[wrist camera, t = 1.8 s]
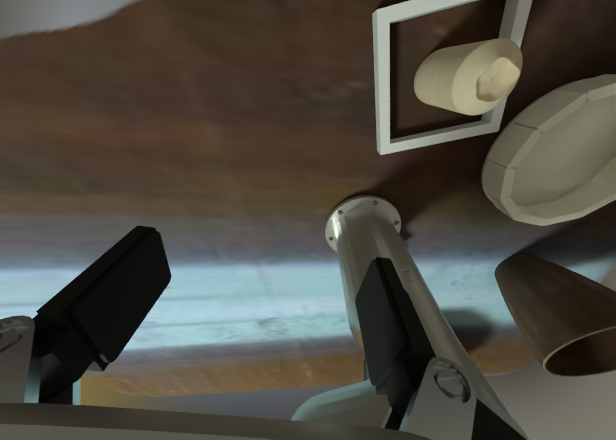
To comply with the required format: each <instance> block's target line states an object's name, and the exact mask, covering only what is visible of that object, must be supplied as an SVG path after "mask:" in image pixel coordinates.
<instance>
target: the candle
mask: <svg viewBox="0 0 616 440" xmlns="http://www.w3.org/2000/svg"><path fill="white" fill-rule="evenodd" d="M522 62H523V59H522V53H521V50H520V48H519V47H518V45H517V44H516V43H515V42H513V41H512V40H509V39H504V38H498V39H492V40H486V41H481V42H475V43H470V44H464V45H458V46H453V47H447V48H443V49H439V50H437V51H435V52H433V53H432V54H430V55H429V56H428V57H427V58H426V59H425V60H424V61H423V62H422V63H421V65H420V66H419V68H418V70H417V72H416V75H415V79H414V91H415V94H416V96H417V97H418V98H419V99H420V100H421V101H422V102H424V103H426V104H429V105H433V106H436V107H440V108H444V109H447V110H451V111H455V112H458V113H462V114H466V115H479V114H483V113H485V112H488V111H490V110H492V109H493V108H495V107H496V106H498V105H499V104H500V103H501V102H502V101H503V100H504V99H505V98H506V97H507V96H508V95H509V94H510V93H511V91H512V90H513V88H514V87H515V85H516V83H517V81H518V79H519V76H520V73H521V70H522Z"/></svg>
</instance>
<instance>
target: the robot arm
mask: <svg viewBox="0 0 616 440" xmlns="http://www.w3.org/2000/svg"><path fill="white" fill-rule="evenodd" d="M400 230H401V218H400V215H399V213H398V211H397V209H396V208H395V206H394V205H393V204H391V203H390V202H389V201H387V200H386V199H384V198H381V197H378V196H373V195H361V196H356V197H352V198H350V199H347V200H345V201H344V202H342V203H340V204H339V205H338V206H336V207H335V208H334V209H333V211H332V212H331V213H330V215H329V216H328V218H327V221H326V224H325V234H326V239H327V241H328V243H329V245H330V246H331V247H332V248H333V250H335V251H336V252H337V253H338V259H339V265H340V272H341V278H342V284H343V291H344V297H345V304H346V310H347V315H348V321H349V326H350V329H351V332H352V334H353V336H354V338H355V340H356V341H357V343H358V344H359V345H360V346H361V347H362V348H363V349H364V351H365V356H366V361H367V367H368V372H369V377H370V379H368V380H366V381H364V382H360V383H356V384H353V385H349V386H346V387H342V388H338V389H335V390H331V391H327V392H324V393H321V394H319V395H316V396H314V397H312V398H310V399H308V400H307V401H305V402H304V403H303V404H302V405H301V406H300V407H299V408H298V409H297V411H296V412H295V413H294V415H293V417H292V418H291V420H282V419H270V418H256V417H243V416H229V415H216V414H202V413H188V412H173V411H159V410H145V409H131V408H115V407H100V406H86V405H80V378H81V376H82V375H83V374H84V372H85V371H86V370H91V371H104V370H105V368H106V367H107V366H108V364H109V363H111V362H113V361H114V360H116V358H117V357H118V356H119V354H120V353H121V351H122V350H123V349H124V347H125V346H126V344H127V343H128V341H129V340H130V339H131V337H132V336H133V334H134V333H135V331H136V330H137V328H138V327H139V326H140V324H141V323H142V321H143V320H144V318H145V317H146V315H147V314H148V313H149V311H150V310H151V308H152V307H153V305H154V304H155V303H156V301H157V300H158V298H159V297H160V295H161V294H162V292H163V291H164V290H165V288H166V287H167V285H168V284H169V282H170V280H171V273H170V269H169V265H168V261H167V258H166V254H165V250H164V247H163V243H162V239H161V235H160V233H159V232H157V231H156V229H155V228H153V227H145V226H137V227H135V228H134V229H133V230H132V231H130V232H129V233H128V234H127V235H126V236H124V237H123V238H122V239H121V240H120V241H119V242H117V243H116V244H115V245H114V246H113V247H112V248H110V249H109V250H108V251H107V252H106V253H104V254H103V255H102V256H101V257H100V258H99V259H97V260H96V261H95V262H94V263H93V264H92V265H90V266H89V267H88V268H87V269H86V270H84V271H83V272H82V273H81V274H80V275H79V276H77V277H76V278H75V279H74V280H73V281H72V282H70V283H69V284H68V285H67V286H66V287H64V288H63V289H62V290H61V291H60V292H59V293H57V294H56V295H55V296H54V297H53V298H52V299H50V300H49V301H48V302H47V303H46V304H44V305H43V306H42V307H41V308H40V309H39V310H37V311H36V312H37V313H38V315H36V316H35V317H34V318H33V319H32V318H31V317H28V316H12V317H8V318H4V319H0V440H529V439H528V437H527V436H526V434H525V433H524V431H523V430H522V428H521V427H520V425H519V424H518V422H517V421H516V420H515V419H514V417H513V416H512V414H511V413H510V411H509V410H508V409H507V407H506V406H505V405H504V403H503V402H502V401H501V399H500V398H499V396H498V395H497V394H496V392H495V391H494V390H493V388H492V387H491V386H490V384H489V383H488V381H487V380H486V379H485V377H484V376H483V375H482V373H481V372H480V371H479V369H478V368H477V366H476V365H475V363H474V362H473V360H472V359H471V357H470V356H469V354H468V353H467V352H466V350H465V349H464V347H463V346H462V344H461V343H460V341H459V340H458V338H457V336H456V335H455V333H454V331H453V330H452V328H451V326H450V325H449V323H448V321H447V320H446V318H445V316H444V315H443V313H442V311H441V310H440V308H439V306H438V304H437V302H436V301H435V299H434V297H433V295H432V293H431V292H430V290H429V288H428V286H427V284H426V283H425V281H424V279H423V277H422V275H421V274H420V272H419V270H418V268H417V266H416V265H415V263H414V261H413V259H412V257H411V255H410V254H409V252H408V250H407V248H406V246H405V245H404V243H403V241H402V239H401V237H400V236H399V233H400Z"/></svg>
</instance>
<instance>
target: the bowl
mask: <svg viewBox="0 0 616 440" xmlns="http://www.w3.org/2000/svg"><path fill="white" fill-rule="evenodd" d="M481 183H482V188H483V191H484V193H485V195H486V196H487V197H488V199H489V200H490V201H492V202H493V204H494V205H495V206H496V208H498V209H499V210H501V211H502V212H503V213H505V214H506V215H507V216H509V217H510V218H512V219H513V220H515V221H520V222H525V223H530V224H535V225H539V226H542V225H543V226H545V225H550V224H554V223H559V222H563V221H568V220H573V219H577V218H580V217H583V216H585V215H587V214H589V213H591V212H593V211H595V210H597V209H598V208H600V207H602V206H604V205H606V204H608V203H610V202H612V201H614V200H616V74H604V75H601V76H597V77H594V78H586V79H581V80H578V81H574V82H571V83H568V84H565V85H563V86H560V87H558V88H556V89H554V90H552V91H550V92H548V93H546V94H545V95H543V96H541V97H540V98H538V99H537V100H535V101H534V102H532V103H531V104H530V105H528V106H527V107H526V108H524V109H523V110H522V111H521V112H520V113H518V114H517V115H516V116H515V117H514V118H513V119H512V120H511V121H510V122H509V123H508V124H507V125H506V127H505V128H504V129H503V130H502V131H501V132H500V134H499V135H498V137H497V138H496V139H495V141H494V142H493V144H492V146H491V147H490V149H489V151H488V153H487V155H486V158H485V161H484V164H483V167H482V172H481Z"/></svg>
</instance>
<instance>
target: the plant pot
mask: <svg viewBox="0 0 616 440" xmlns="http://www.w3.org/2000/svg"><path fill="white" fill-rule="evenodd" d="M495 277H496V280H497V283H498V286H499V288H500V291H501V294H502V296H503V298H504V301H505V303H506V305H507V307H508V309H509V311H510V313H511V315H512V317H513V319H514V321H515V323H516V325H517V326H518V328H519V330H520V332H521V333H522V335H523V337H524V339H525V340H526V342H527V343H528V345H529V347H530V348H531V350H532V351H533V353H534V354H535V356H536V357H537V359H538V360H539V362H540V363H541V365H542V367H543V368H544V370H545V371H546V372H548V373H550V374H553V375H556V376H564V377H578V376H588V375H595V374H601V373H606V372H611V371H615V370H616V292H615V291H613V290H611V289H609V288H607V287H605V286H603V285H601V284H599V283H597V282H595V281H593V280H591V279H589V278H587V277H585V276H582V275H580V274H578V273H576V272H573V271H571V270H569V269H566V268H564V267H562V266H559V265H557V264H554V263H552V262H549V261H547V260H544V259H541V258H539V257H536V256H533V255H529V254H521V255H516V256H513V257H511V258H508V259H507V260H505V261H503V262H502V263H501V264H500V265H499V266H498V267H497V268H496V271H495Z"/></svg>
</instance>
